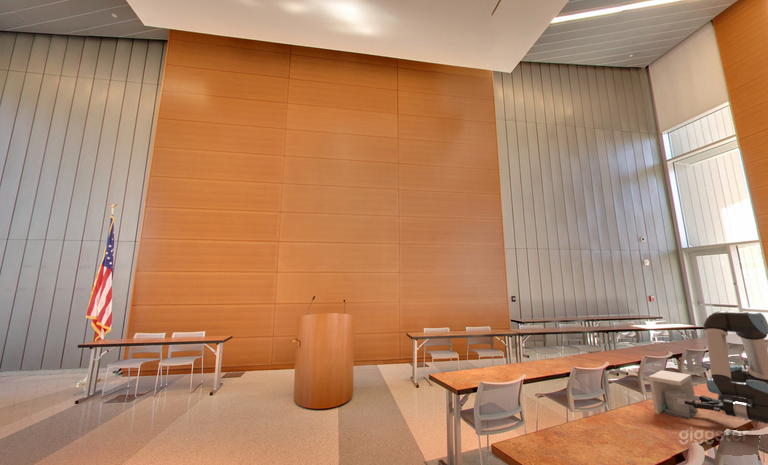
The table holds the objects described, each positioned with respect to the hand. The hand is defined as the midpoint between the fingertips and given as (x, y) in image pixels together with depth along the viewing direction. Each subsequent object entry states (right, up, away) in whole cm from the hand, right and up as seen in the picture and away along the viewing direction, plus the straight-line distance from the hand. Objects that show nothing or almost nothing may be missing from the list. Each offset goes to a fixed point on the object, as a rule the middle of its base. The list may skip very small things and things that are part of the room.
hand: (680, 397), depth 176 cm
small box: (-1, -8, 0) cm, 8 cm away
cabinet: (-1, -9, +1) cm, 9 cm away
